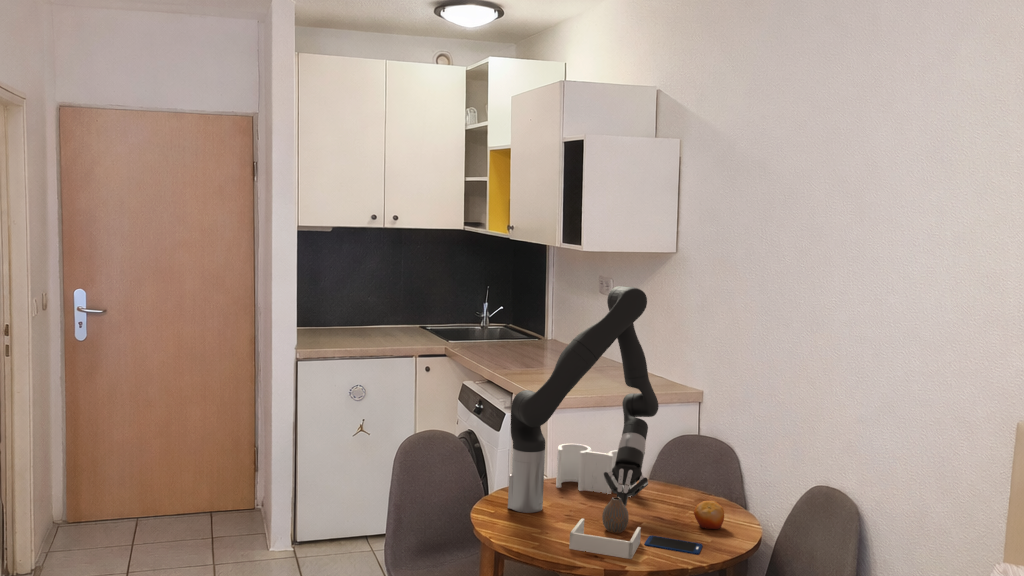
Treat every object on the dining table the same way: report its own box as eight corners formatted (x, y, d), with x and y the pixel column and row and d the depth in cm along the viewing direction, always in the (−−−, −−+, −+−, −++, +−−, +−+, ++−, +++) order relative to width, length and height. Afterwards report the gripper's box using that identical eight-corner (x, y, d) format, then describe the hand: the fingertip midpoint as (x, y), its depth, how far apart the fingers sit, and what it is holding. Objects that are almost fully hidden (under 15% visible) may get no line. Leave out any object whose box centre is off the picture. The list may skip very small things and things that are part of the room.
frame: (569, 548, 204) (569, 532, 204) (580, 533, 216) (581, 518, 215) (631, 559, 199) (632, 542, 199) (640, 542, 210) (640, 527, 210)
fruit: (725, 517, 229) (725, 497, 224) (722, 539, 223) (722, 519, 218) (696, 513, 231) (695, 493, 227) (692, 535, 225) (692, 515, 221)
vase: (598, 532, 217) (600, 499, 216) (605, 524, 223) (607, 492, 223) (624, 537, 214) (625, 503, 214) (630, 528, 221) (632, 496, 220)
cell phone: (698, 556, 204) (699, 553, 204) (643, 546, 209) (643, 543, 209) (703, 546, 211) (703, 543, 211) (649, 537, 216) (649, 534, 216)
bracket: (639, 490, 256) (641, 452, 255) (632, 499, 246) (634, 459, 246) (562, 479, 264) (563, 441, 264) (552, 487, 255) (554, 448, 255)
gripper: (606, 442, 235) (594, 497, 224) (653, 448, 231) (643, 503, 220) (609, 456, 240) (598, 510, 229) (655, 462, 236) (645, 517, 225)
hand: (620, 507), depth 225 cm, fingers closed
